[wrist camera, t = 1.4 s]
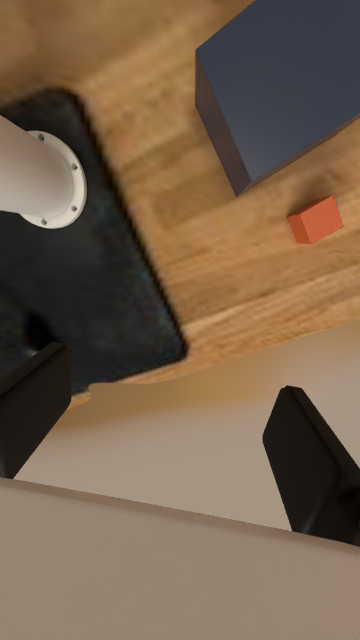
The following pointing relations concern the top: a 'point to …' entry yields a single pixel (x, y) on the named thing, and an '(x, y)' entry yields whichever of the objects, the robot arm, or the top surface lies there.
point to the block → (315, 220)
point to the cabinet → (278, 84)
